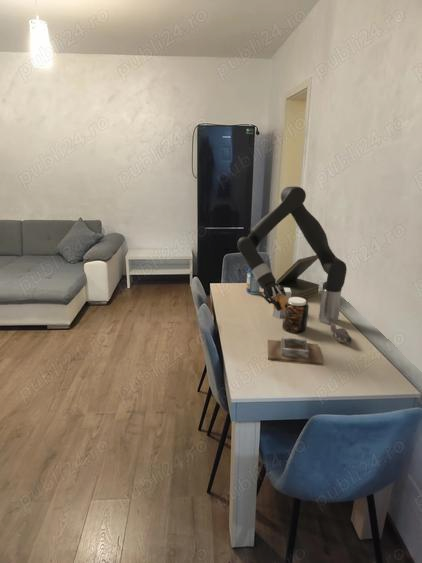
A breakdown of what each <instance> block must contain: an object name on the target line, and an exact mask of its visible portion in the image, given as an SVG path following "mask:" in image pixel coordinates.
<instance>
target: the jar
mask: <svg viewBox="0 0 422 563" xmlns="http://www.w3.org/2000/svg"><path fill="white" fill-rule="evenodd" d="M286 303H287V304H288V307H287V308H286V309H285V318H284V319H282V329H283V330H284V331H285V332H287V333H290V332H291V333H292V334H302V333H304V332H306V331H307V328H308V320H309V319H308V318H309V310H310V308H309V307H310V306H309V304H308V303H307V300H306V298H305V299H303V298H300V297H291V298H289V300H288V301H287V302H286Z"/></svg>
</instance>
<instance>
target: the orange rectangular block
mask: <svg viewBox="0 0 422 563" xmlns="http://www.w3.org/2000/svg"><path fill="white" fill-rule="evenodd" d="M276 299H277V302H279V304H280V306H281V307H282V310H280V311H278V310H277V309H276V307H275V306H274V305H273V313H272V318H276V319H279V320H283V319H284V318H285V309H286V299H287V296H285V295H282V294H278V295H276Z"/></svg>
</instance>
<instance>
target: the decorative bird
mask: <svg viewBox="0 0 422 563" xmlns="http://www.w3.org/2000/svg"><path fill="white" fill-rule="evenodd" d="M326 318H327V320H328V321H329V324H328V325H329V326H330V327H329V328H330V332H331V333H332V336H333V337H334V339H335V340H336V341H337V342H339V343H344V344H349V346H352V343H351V342H352V341H353V340H352V337H351V336H350V334H349V333H348V331H347V330H346V329H345V328H344V327H343V326H341V325H340V324H338V323H335V322H334V321H333V319H332V318H330V317H326Z"/></svg>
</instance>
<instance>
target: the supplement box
mask: <svg viewBox="0 0 422 563" xmlns="http://www.w3.org/2000/svg"><path fill="white" fill-rule="evenodd" d="M284 290H285V293H286V296H287V299H286V302H287V301H288V300H289V298H291V293H292V292H291V290H290V288H284ZM278 294H279V293H278ZM278 294H277V295H278ZM282 295H283V294H282Z"/></svg>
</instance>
